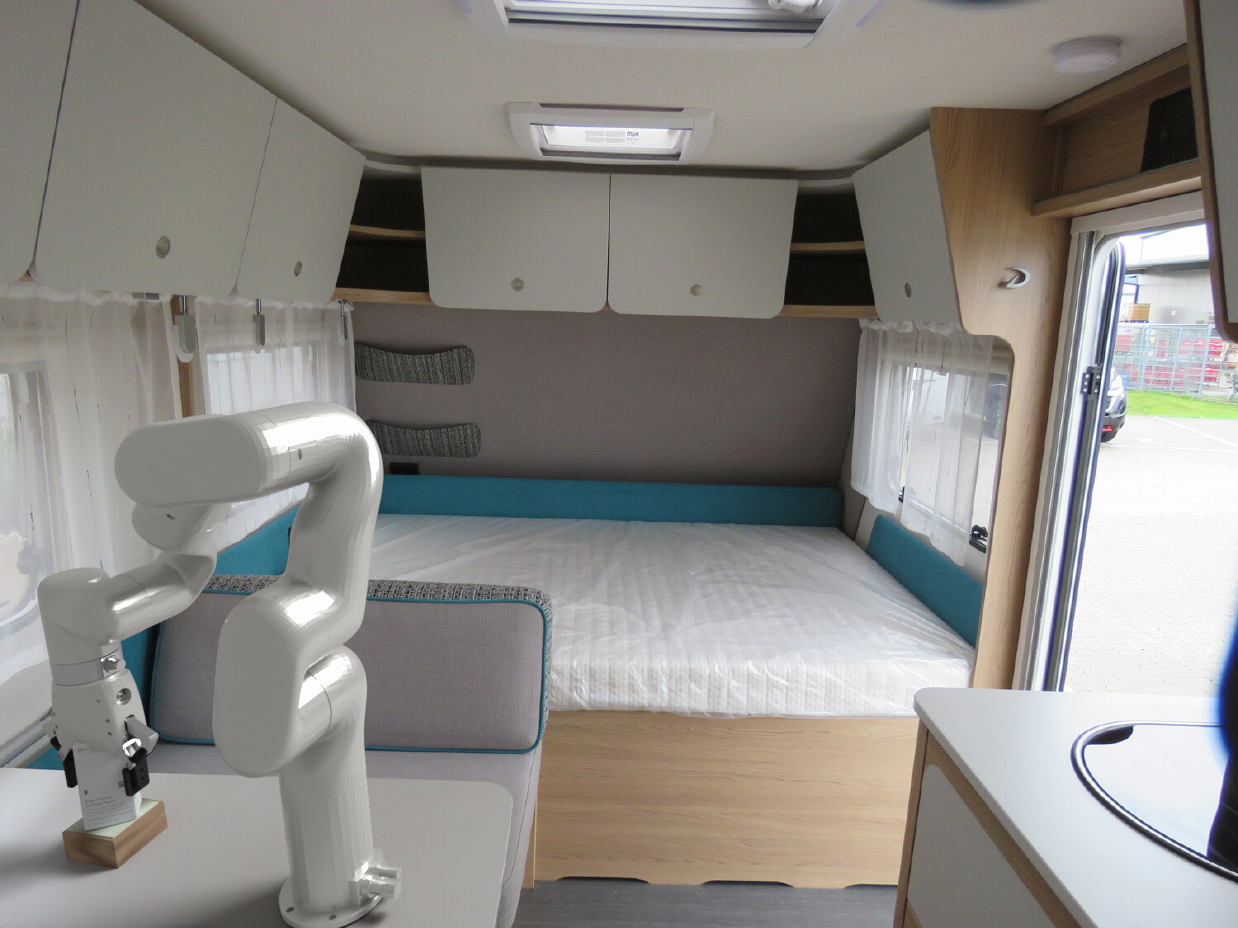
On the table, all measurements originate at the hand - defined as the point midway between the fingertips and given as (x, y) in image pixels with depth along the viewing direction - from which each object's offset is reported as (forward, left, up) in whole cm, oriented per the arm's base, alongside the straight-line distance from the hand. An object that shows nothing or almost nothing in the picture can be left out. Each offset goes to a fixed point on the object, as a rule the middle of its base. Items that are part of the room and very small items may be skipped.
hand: (109, 785), depth 98 cm
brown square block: (0, 0, -9) cm, 9 cm away
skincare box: (0, 0, -5) cm, 5 cm away
